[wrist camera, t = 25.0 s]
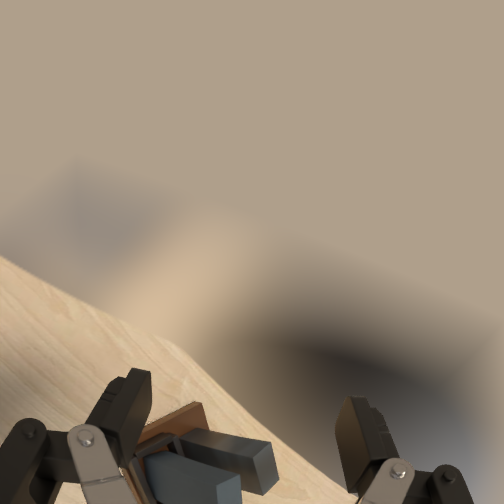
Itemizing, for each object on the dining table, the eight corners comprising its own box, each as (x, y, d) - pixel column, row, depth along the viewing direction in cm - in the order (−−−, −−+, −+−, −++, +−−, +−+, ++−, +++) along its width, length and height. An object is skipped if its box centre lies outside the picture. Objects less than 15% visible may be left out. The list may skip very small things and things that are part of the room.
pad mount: (110, 441, 25) (186, 478, 18) (194, 401, 34) (276, 412, 28) (142, 514, 24) (220, 556, 18) (214, 467, 34) (291, 486, 27)
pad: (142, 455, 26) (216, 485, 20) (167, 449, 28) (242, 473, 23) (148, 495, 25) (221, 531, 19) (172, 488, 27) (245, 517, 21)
